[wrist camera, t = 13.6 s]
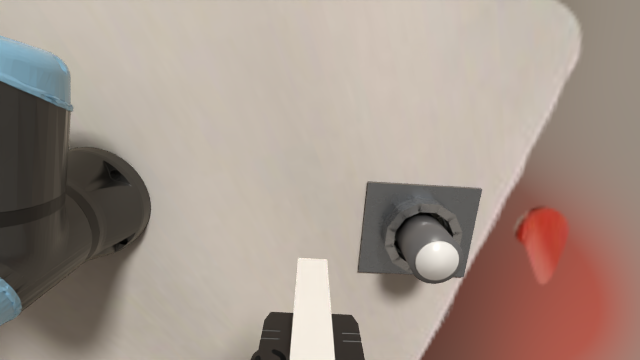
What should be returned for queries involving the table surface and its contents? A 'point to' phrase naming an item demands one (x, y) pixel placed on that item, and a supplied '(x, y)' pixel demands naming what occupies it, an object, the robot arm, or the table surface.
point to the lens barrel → (429, 248)
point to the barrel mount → (407, 200)
